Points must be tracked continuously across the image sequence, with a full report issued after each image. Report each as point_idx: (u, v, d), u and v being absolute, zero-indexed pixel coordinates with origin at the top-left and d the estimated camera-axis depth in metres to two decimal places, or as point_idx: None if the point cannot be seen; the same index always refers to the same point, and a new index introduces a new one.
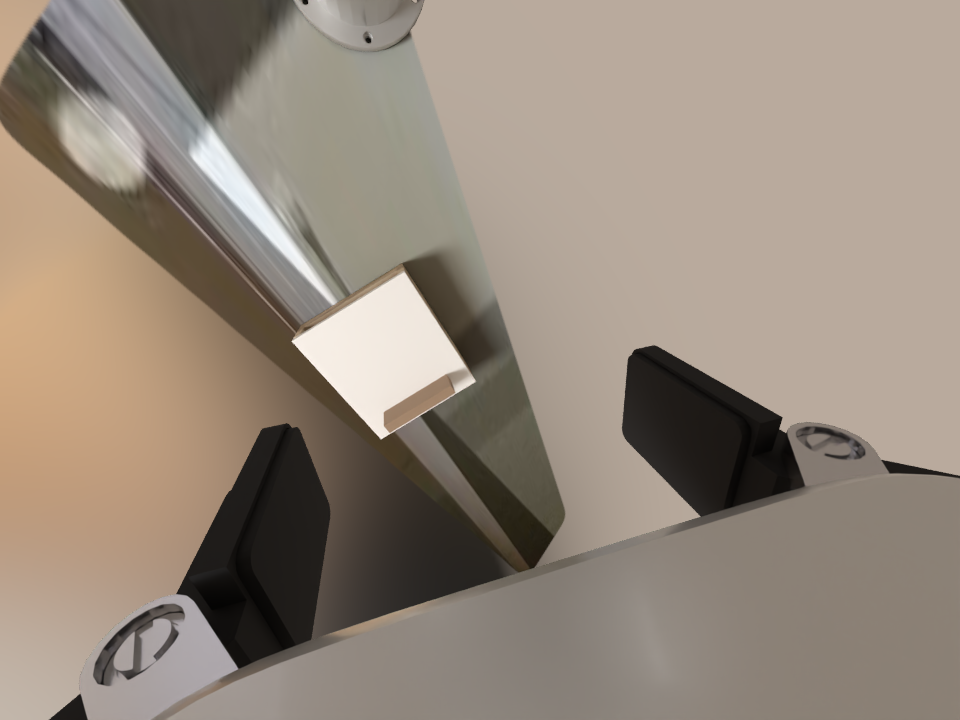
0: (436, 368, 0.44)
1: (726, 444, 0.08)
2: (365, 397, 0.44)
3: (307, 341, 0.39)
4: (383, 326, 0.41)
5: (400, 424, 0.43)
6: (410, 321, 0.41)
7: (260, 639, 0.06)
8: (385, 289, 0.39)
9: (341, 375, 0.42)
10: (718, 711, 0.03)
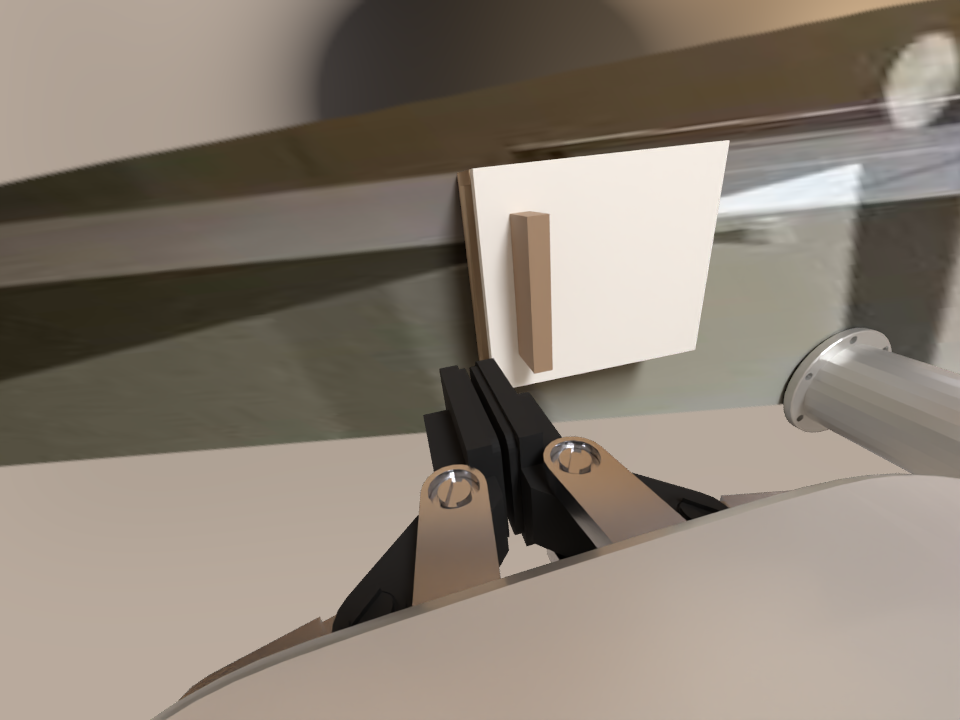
0: (553, 339, 0.25)
1: (505, 456, 0.08)
2: (576, 196, 0.22)
3: (712, 164, 0.23)
4: (657, 291, 0.26)
5: (532, 249, 0.19)
6: (640, 330, 0.27)
7: None
8: (694, 317, 0.27)
9: (636, 180, 0.22)
10: (718, 711, 0.03)
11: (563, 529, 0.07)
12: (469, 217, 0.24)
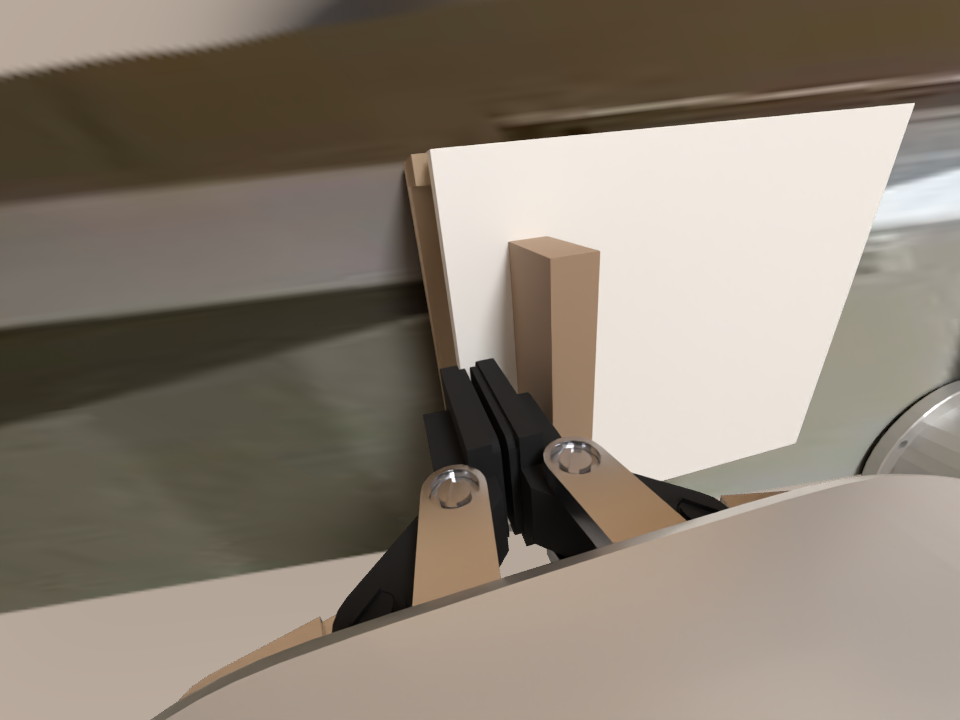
0: None
1: (505, 456, 0.08)
2: (636, 206, 0.11)
3: (878, 149, 0.12)
4: (755, 364, 0.15)
5: (560, 325, 0.09)
6: (720, 423, 0.16)
7: None
8: (802, 399, 0.17)
9: (747, 177, 0.12)
10: (717, 711, 0.03)
11: (563, 528, 0.07)
12: (424, 243, 0.13)
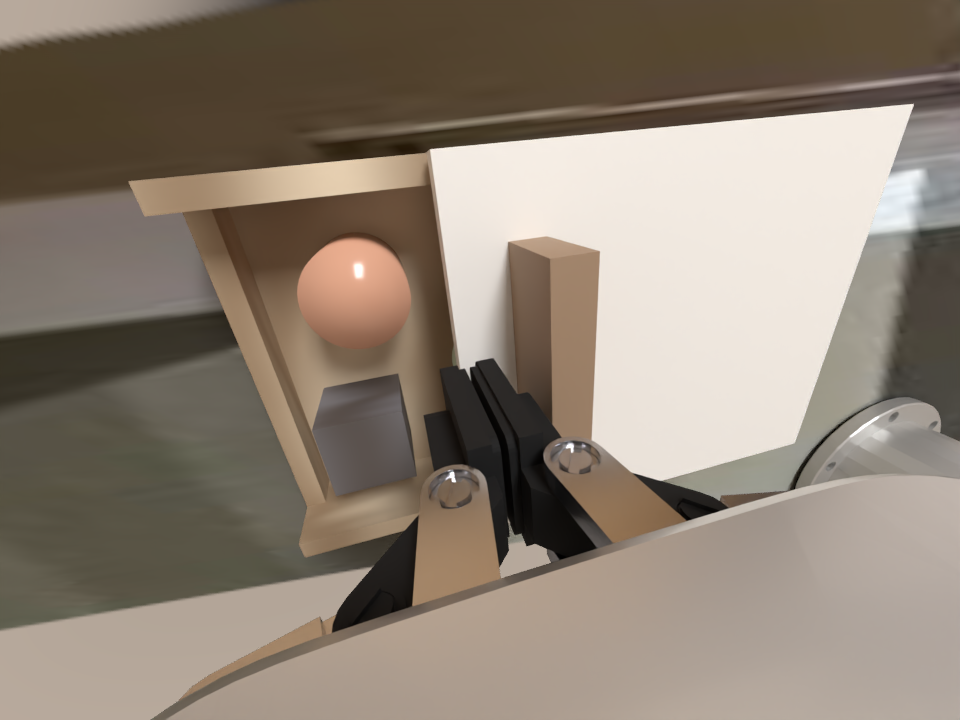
0: None
1: (506, 456, 0.08)
2: (636, 207, 0.11)
3: (877, 150, 0.12)
4: (754, 364, 0.15)
5: (560, 325, 0.09)
6: (719, 423, 0.16)
7: None
8: (802, 399, 0.17)
9: (746, 177, 0.12)
10: (717, 711, 0.03)
11: (563, 528, 0.07)
12: (213, 272, 0.12)
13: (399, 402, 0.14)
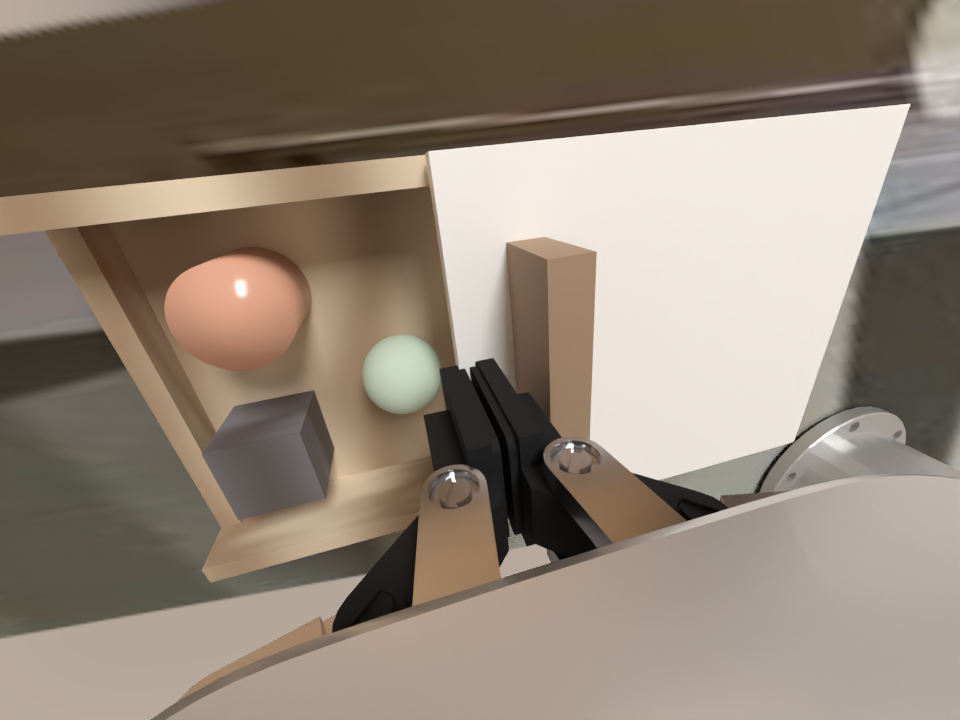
0: None
1: (505, 456, 0.08)
2: (633, 207, 0.11)
3: (874, 149, 0.12)
4: (752, 363, 0.15)
5: (557, 326, 0.09)
6: (718, 422, 0.16)
7: None
8: (800, 398, 0.17)
9: (743, 178, 0.12)
10: (718, 711, 0.03)
11: (563, 528, 0.07)
12: (86, 292, 0.11)
13: (301, 423, 0.14)
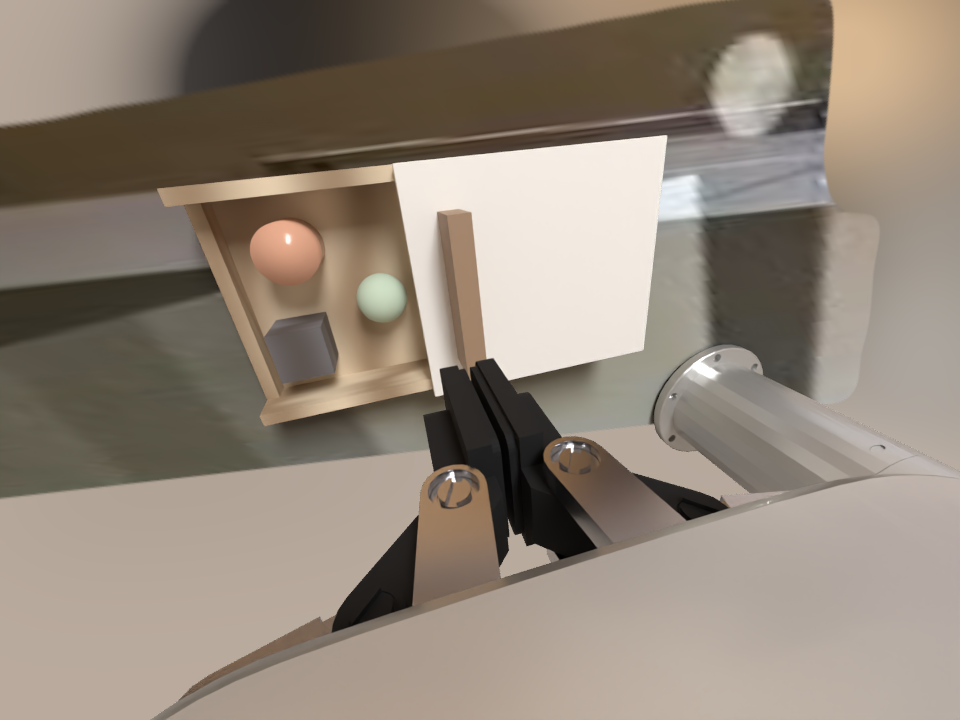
0: (493, 342, 0.24)
1: (505, 456, 0.08)
2: (508, 193, 0.21)
3: (651, 160, 0.22)
4: (601, 291, 0.25)
5: (456, 249, 0.18)
6: (585, 331, 0.26)
7: None
8: (640, 317, 0.27)
9: (571, 176, 0.21)
10: (717, 711, 0.03)
11: (563, 528, 0.07)
12: (201, 240, 0.20)
13: (320, 323, 0.23)
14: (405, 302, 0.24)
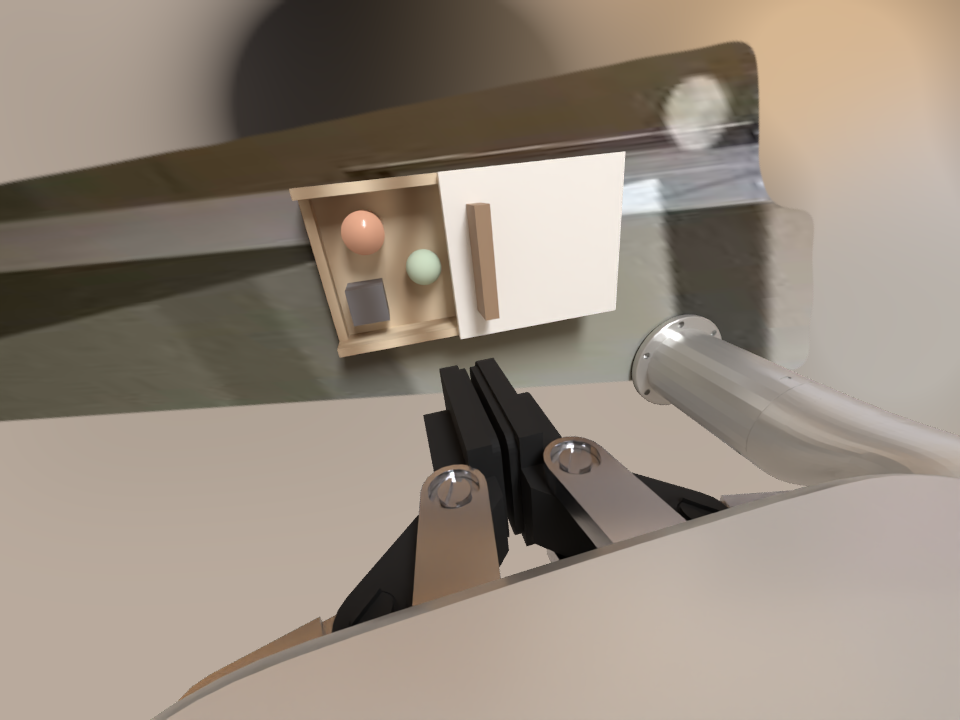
0: (503, 299, 0.34)
1: (505, 456, 0.08)
2: (514, 191, 0.30)
3: (614, 169, 0.31)
4: (581, 263, 0.34)
5: (479, 228, 0.28)
6: (570, 293, 0.35)
7: None
8: (612, 284, 0.36)
9: (558, 180, 0.31)
10: (717, 711, 0.03)
11: (563, 528, 0.07)
12: (306, 224, 0.30)
13: (381, 284, 0.33)
14: (440, 270, 0.34)
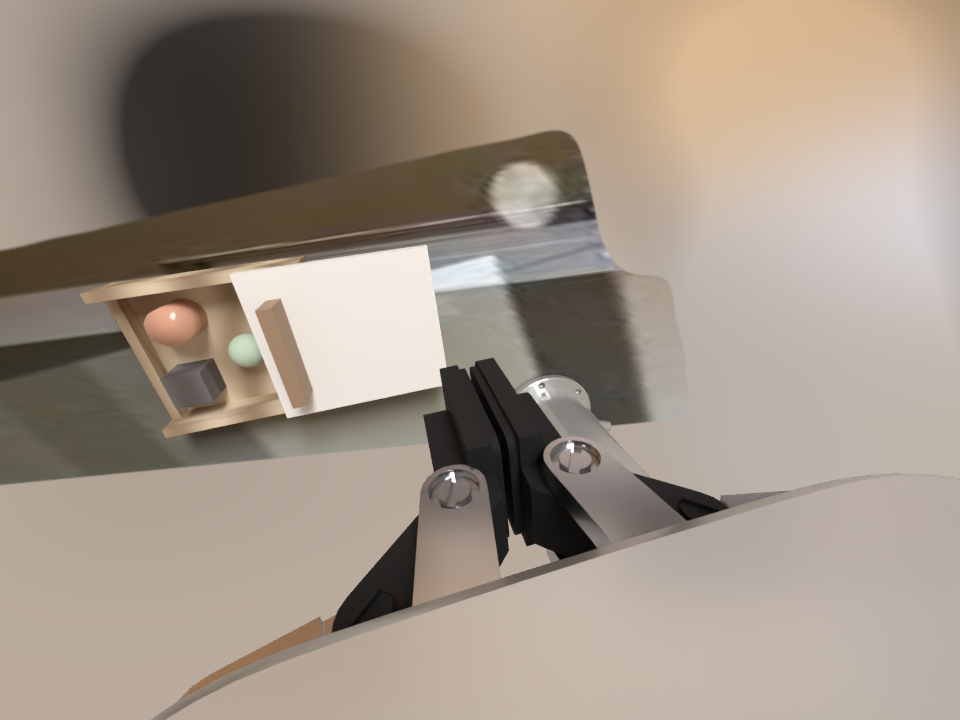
0: (325, 381, 0.35)
1: (505, 456, 0.08)
2: (314, 287, 0.31)
3: (419, 261, 0.33)
4: (402, 345, 0.35)
5: (265, 330, 0.29)
6: (396, 372, 0.36)
7: None
8: (440, 362, 0.37)
9: (360, 275, 0.32)
10: (717, 711, 0.03)
11: (563, 528, 0.07)
12: (116, 318, 0.32)
13: (201, 369, 0.34)
14: None
